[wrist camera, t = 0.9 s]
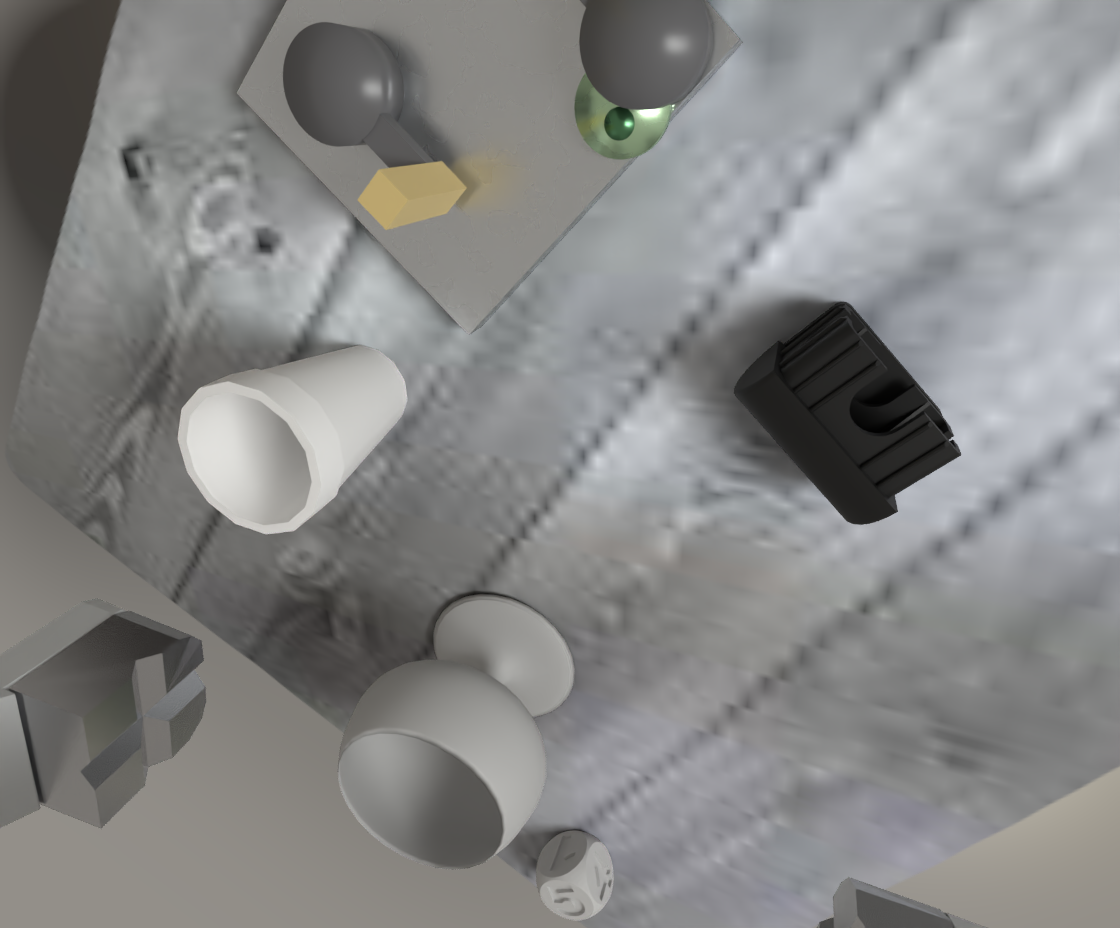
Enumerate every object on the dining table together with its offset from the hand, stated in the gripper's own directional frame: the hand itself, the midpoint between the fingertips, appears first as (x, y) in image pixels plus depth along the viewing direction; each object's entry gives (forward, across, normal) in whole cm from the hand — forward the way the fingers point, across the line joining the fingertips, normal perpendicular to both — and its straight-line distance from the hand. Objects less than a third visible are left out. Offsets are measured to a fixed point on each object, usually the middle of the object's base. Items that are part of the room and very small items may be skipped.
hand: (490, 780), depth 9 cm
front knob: (+36, +9, -11) cm, 39 cm away
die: (+40, 0, +53) cm, 66 cm away
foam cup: (+39, +23, +14) cm, 47 cm away
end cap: (+39, -8, +6) cm, 40 cm away
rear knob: (+36, +21, -4) cm, 42 cm away
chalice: (+39, +10, +34) cm, 53 cm away
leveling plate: (+38, +17, -7) cm, 43 cm away
